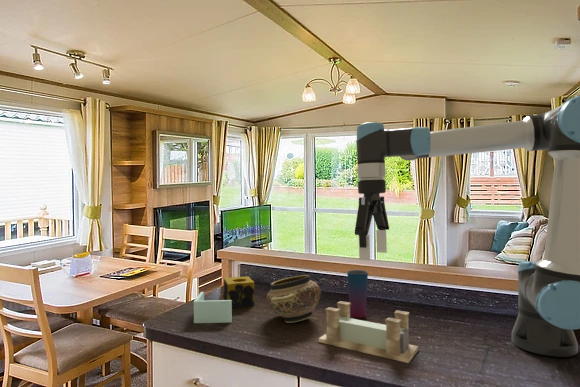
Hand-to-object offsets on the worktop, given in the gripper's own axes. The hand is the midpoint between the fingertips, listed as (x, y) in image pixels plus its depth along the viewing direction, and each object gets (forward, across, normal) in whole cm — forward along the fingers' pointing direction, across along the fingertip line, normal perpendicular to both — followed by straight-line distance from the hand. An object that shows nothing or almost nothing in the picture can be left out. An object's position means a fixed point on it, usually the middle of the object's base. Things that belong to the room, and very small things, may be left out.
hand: (373, 256), depth 106 cm
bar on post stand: (+24, +3, -1) cm, 24 cm away
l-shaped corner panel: (+24, +7, -54) cm, 59 cm away
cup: (+24, -18, -13) cm, 33 cm away
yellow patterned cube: (+23, -7, -55) cm, 60 cm away
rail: (+23, +3, -2) cm, 23 cm away
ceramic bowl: (+24, -4, -29) cm, 38 cm away
